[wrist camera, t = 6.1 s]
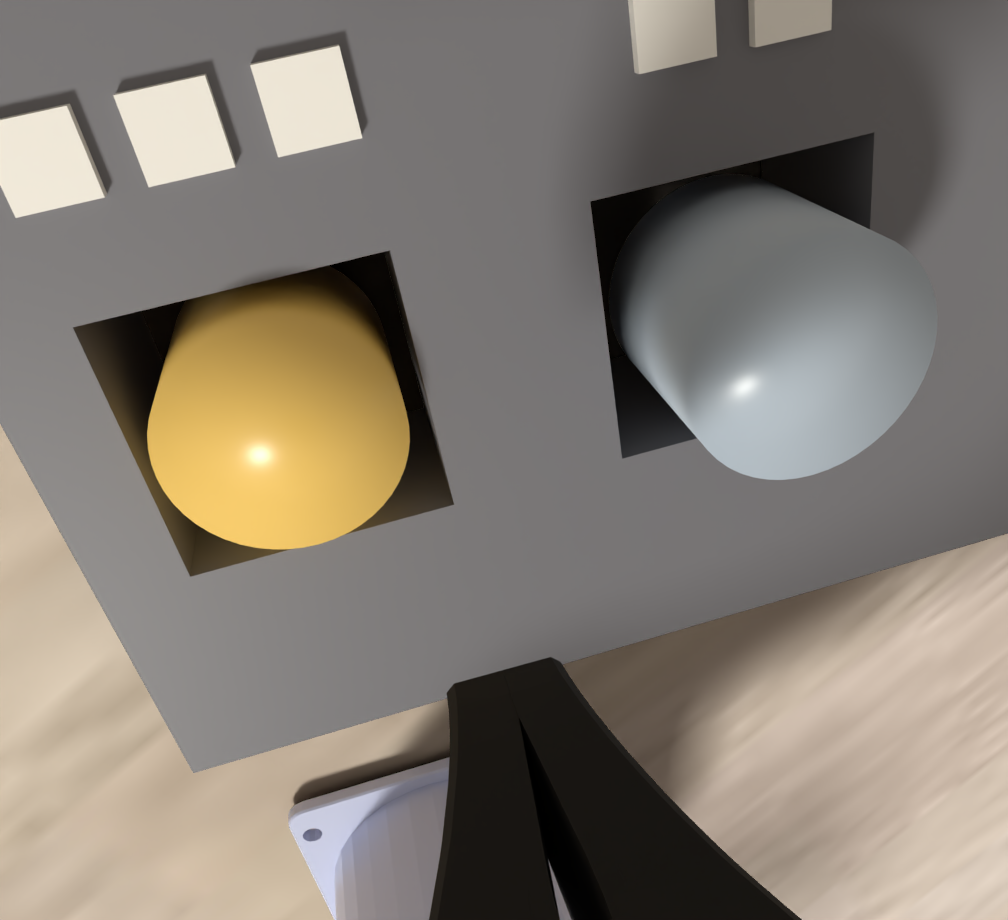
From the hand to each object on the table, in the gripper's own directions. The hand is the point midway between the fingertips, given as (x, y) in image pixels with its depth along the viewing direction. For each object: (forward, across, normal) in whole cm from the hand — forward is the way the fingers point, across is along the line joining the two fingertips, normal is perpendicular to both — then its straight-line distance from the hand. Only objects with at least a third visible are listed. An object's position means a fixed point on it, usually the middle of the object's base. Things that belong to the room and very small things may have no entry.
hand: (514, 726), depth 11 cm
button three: (+9, +2, -2) cm, 9 cm away
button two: (+7, -6, -2) cm, 9 cm away
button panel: (+10, -6, -2) cm, 11 cm away
